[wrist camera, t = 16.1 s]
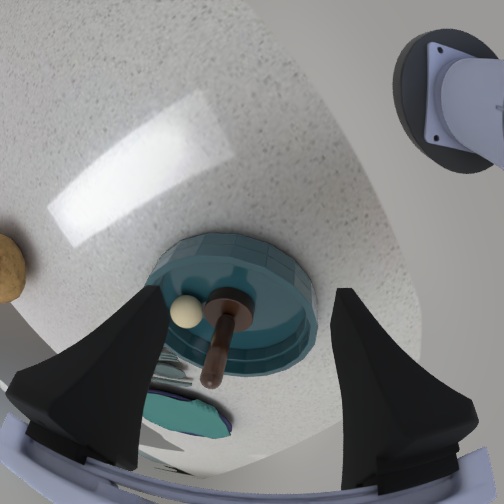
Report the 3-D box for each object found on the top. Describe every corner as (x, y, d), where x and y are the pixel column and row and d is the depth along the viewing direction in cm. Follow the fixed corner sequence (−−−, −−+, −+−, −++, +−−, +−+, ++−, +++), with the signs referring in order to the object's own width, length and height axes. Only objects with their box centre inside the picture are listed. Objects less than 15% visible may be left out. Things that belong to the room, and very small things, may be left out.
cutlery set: (153, 418, 51) (150, 427, 49) (81, 331, 35) (74, 343, 33) (241, 434, 48) (239, 444, 46) (205, 350, 31) (200, 366, 29)
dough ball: (196, 309, 23) (162, 307, 23) (200, 336, 24) (169, 333, 24) (204, 289, 25) (173, 287, 26) (207, 315, 27) (178, 313, 27)
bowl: (324, 233, 21) (328, 260, 18) (307, 354, 29) (307, 381, 26) (138, 228, 23) (118, 251, 20) (175, 342, 31) (166, 366, 29)
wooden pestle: (250, 286, 24) (231, 374, 17) (258, 321, 26) (244, 403, 19) (202, 287, 25) (170, 368, 18) (214, 320, 27) (190, 397, 20)
